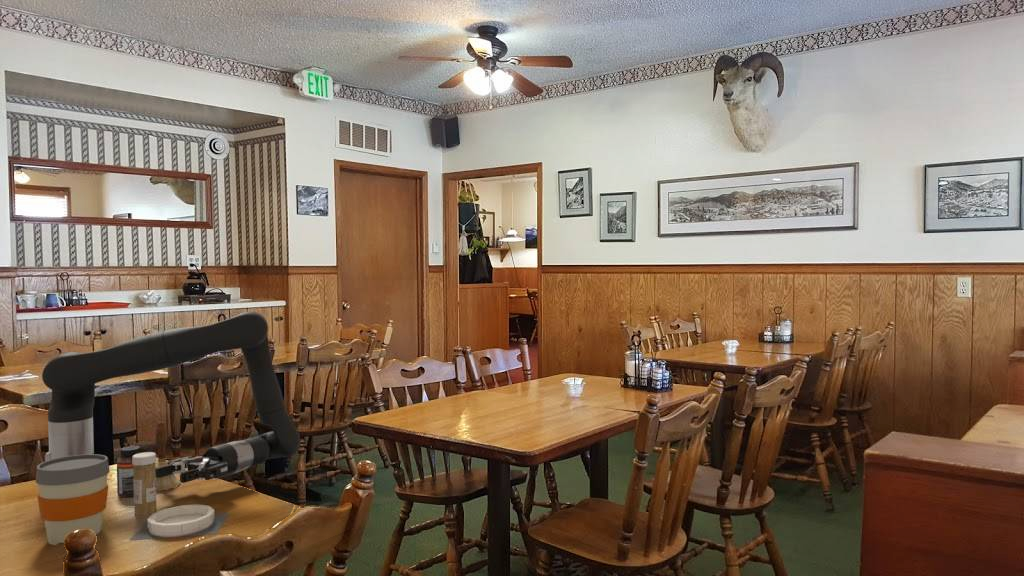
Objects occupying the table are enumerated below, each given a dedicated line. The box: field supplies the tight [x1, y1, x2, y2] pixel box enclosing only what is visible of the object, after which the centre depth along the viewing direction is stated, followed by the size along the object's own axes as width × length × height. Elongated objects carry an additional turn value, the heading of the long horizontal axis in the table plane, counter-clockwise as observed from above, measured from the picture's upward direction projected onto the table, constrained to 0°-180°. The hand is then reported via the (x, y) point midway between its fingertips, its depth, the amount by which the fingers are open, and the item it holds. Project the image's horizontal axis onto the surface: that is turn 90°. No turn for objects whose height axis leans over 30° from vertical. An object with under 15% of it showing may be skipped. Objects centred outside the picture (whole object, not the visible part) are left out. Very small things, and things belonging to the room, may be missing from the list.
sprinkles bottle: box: [132, 451, 158, 518], centre depth 151 cm, size 5×5×14 cm
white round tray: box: [146, 503, 215, 538], centre depth 143 cm, size 12×12×2 cm
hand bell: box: [155, 421, 182, 492], centre depth 172 cm, size 8×8×16 cm
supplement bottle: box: [116, 445, 141, 499], centre depth 165 cm, size 6×6×11 cm
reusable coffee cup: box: [35, 453, 111, 546], centre depth 139 cm, size 13×13×15 cm
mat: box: [129, 513, 230, 541], centre depth 143 cm, size 16×12×1 cm
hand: (168, 475), depth 156 cm, fingers open, 8 cm apart
